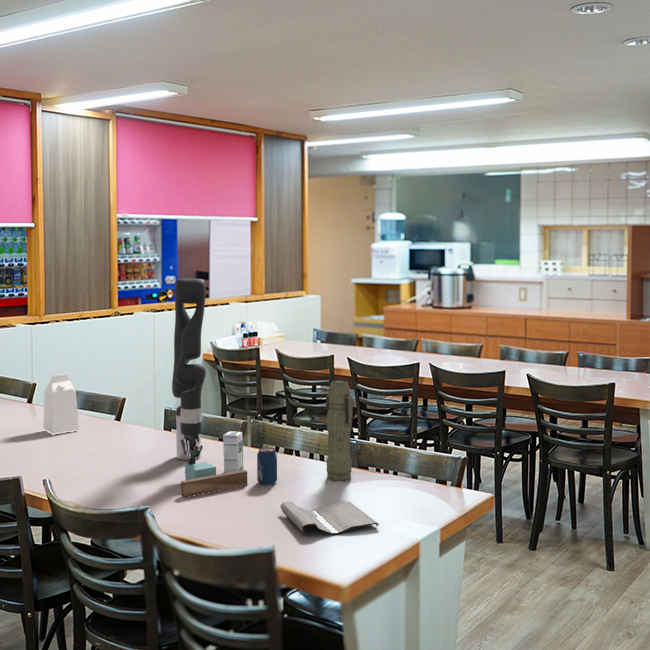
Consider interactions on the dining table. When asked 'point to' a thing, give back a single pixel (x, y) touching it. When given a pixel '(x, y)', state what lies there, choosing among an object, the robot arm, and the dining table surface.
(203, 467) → the block
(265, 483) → the soda can
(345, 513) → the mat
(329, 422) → the thermos
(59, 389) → the milk
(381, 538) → the dining table surface
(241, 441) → the syrup box
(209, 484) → the board
